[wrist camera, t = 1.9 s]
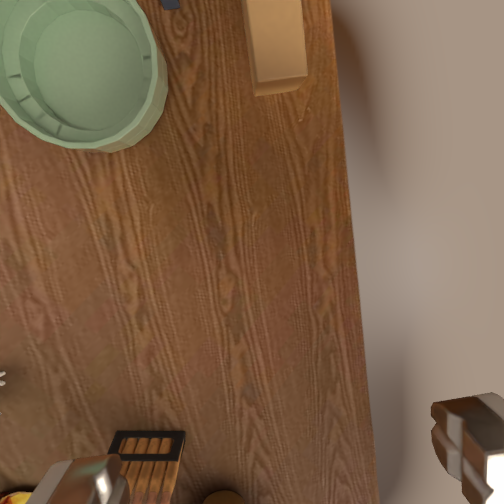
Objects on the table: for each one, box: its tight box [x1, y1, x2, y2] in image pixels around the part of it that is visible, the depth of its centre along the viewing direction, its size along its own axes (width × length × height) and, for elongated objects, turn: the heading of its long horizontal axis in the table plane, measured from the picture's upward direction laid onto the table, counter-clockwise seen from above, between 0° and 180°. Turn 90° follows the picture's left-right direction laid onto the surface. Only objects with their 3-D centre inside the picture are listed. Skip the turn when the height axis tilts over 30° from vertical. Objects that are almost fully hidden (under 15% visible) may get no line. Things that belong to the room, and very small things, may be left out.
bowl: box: [0, 0, 168, 153], centre depth 32 cm, size 17×17×6 cm
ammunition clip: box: [107, 431, 185, 504], centre depth 41 cm, size 11×2×12 cm, turn 86°
